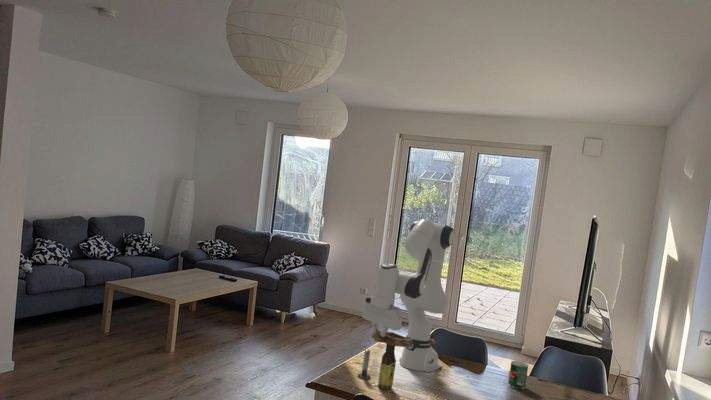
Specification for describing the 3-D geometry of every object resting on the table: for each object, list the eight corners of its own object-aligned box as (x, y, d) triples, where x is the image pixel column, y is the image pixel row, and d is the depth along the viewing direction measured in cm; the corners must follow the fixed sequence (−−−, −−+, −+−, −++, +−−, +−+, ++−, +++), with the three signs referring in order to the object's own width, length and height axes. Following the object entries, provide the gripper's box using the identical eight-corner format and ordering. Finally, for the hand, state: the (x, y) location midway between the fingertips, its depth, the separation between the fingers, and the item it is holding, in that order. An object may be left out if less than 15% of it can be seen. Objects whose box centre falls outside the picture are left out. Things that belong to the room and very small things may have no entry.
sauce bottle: (391, 391, 239) (397, 345, 239) (376, 388, 241) (383, 342, 240) (393, 386, 246) (399, 341, 245) (378, 383, 247) (385, 338, 246)
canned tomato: (504, 384, 269) (507, 361, 269) (514, 382, 274) (517, 360, 274) (518, 390, 263) (521, 367, 263) (528, 388, 268) (531, 365, 268)
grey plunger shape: (364, 373, 257) (367, 347, 256) (373, 378, 252) (377, 351, 252) (354, 375, 253) (358, 349, 252) (363, 380, 248) (367, 353, 248)
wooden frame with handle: (390, 338, 251) (392, 329, 252) (411, 347, 242) (413, 338, 243) (365, 336, 240) (367, 327, 240) (386, 345, 231) (388, 336, 231)
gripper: (407, 308, 231) (402, 341, 231) (372, 296, 246) (367, 327, 246) (396, 309, 226) (392, 343, 227) (361, 296, 241) (357, 328, 242)
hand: (379, 334), depth 237 cm, fingers closed on wooden frame with handle, 2 cm apart
